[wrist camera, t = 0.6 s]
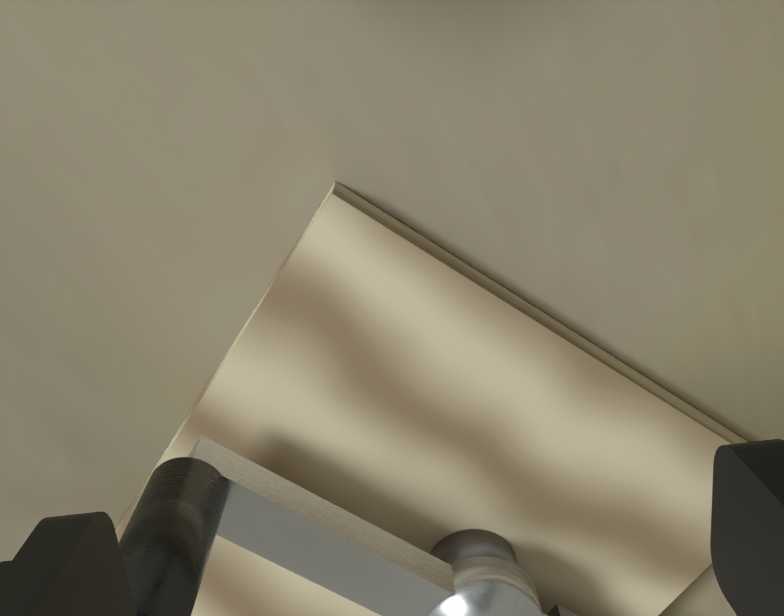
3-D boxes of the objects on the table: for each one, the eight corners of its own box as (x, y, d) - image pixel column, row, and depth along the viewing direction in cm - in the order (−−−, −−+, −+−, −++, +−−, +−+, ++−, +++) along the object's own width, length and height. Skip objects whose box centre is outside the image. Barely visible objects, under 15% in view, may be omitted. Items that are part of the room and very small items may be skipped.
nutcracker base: (335, 181, 29) (322, 234, 22) (770, 456, 34) (863, 564, 27) (75, 592, 36) (8, 722, 30) (463, 767, 41) (478, 910, 35)
